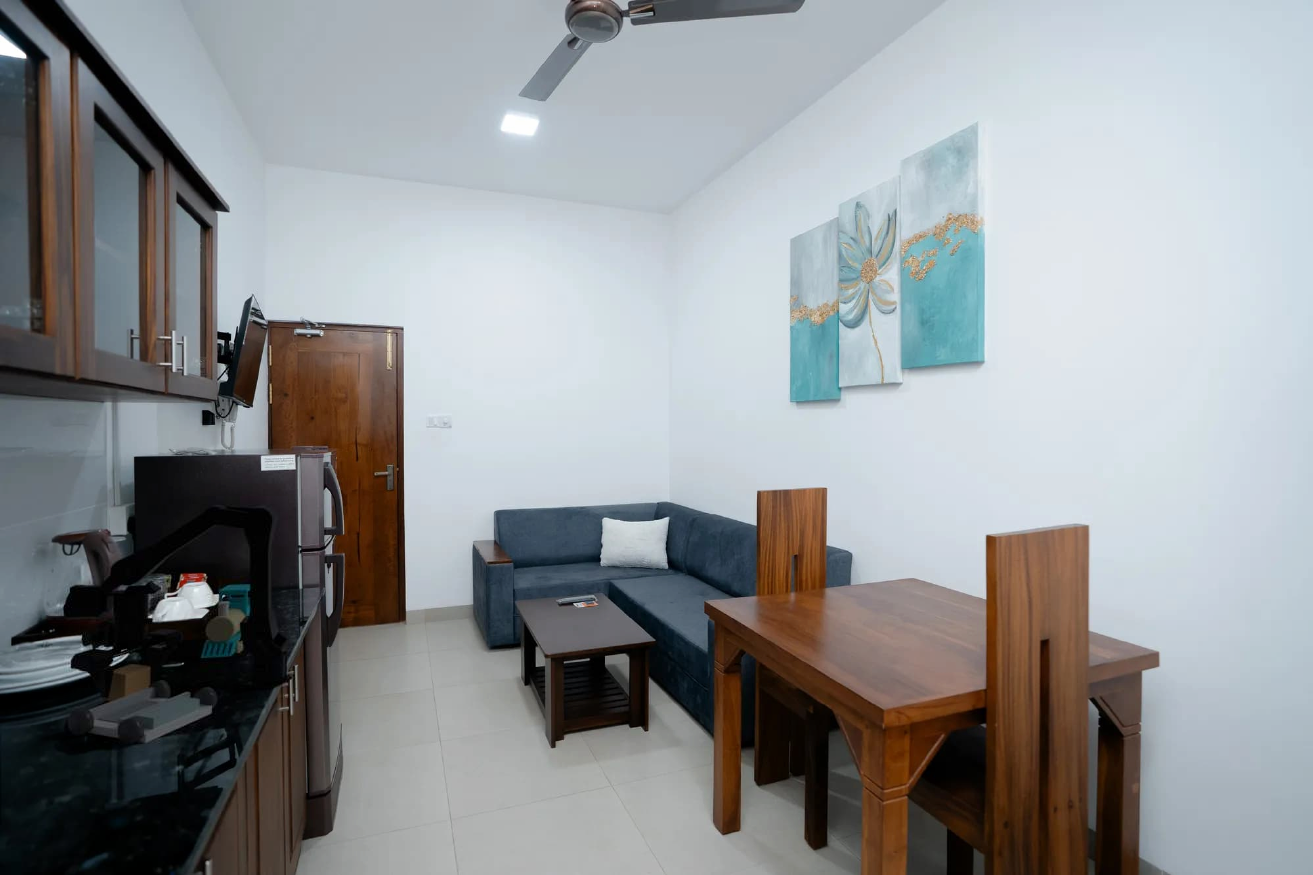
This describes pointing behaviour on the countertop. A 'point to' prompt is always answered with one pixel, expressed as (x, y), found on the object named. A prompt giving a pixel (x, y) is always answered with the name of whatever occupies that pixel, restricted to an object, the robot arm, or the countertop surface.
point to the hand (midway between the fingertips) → (128, 689)
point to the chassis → (143, 714)
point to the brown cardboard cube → (129, 681)
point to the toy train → (227, 623)
